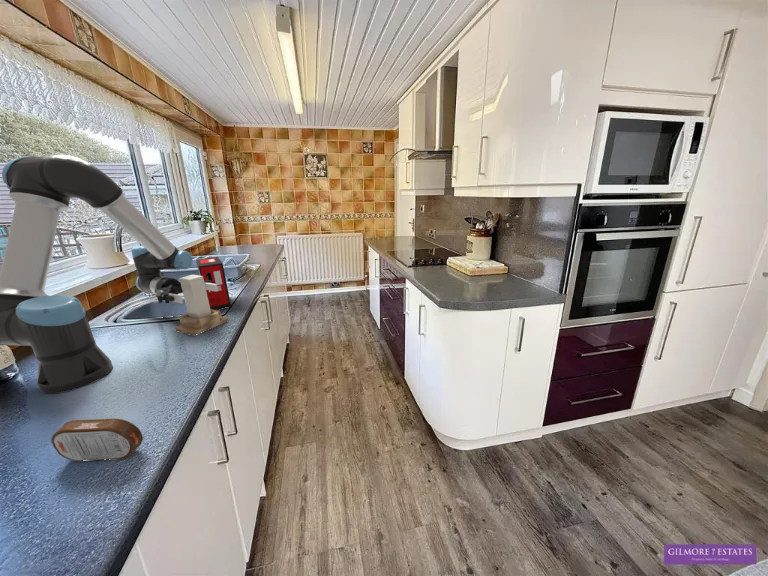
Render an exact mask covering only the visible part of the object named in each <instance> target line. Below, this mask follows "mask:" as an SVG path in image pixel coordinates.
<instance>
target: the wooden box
mask: <svg viewBox="0 0 768 576" xmlns="http://www.w3.org/2000/svg"><path fill="white" fill-rule="evenodd" d="M210 310H211V314H210V315H208V316H205V317H203V318H200V319H198V320H197V319H194V318H190V317H189V315H188V312H187V313H185V314H182V315H180V316H179V321H180V324H179V325H177V326H175V327H174V329H175V330H174V331H176V332H177V331H179V332H178V333H181V332H183V333H182V334H184V333H186V334H185V335H188V334H190V335H189V336H191V335H196V334H199V333H201V332H203V331H205V330H208V329H210V328H212V329H214V328H213V327H215V326H217V325H219V324H221V325H223V324H222V323H224V322H226V323H228V322H229V317H227V316H222V314H221V311H220V310H213V309H210ZM227 321H228V322H227ZM224 324H225V323H224ZM219 326H220V325H219ZM217 327H218V326H217ZM215 328H216V327H215ZM210 330H211V329H210ZM208 331H209V330H208ZM205 332H206V331H205ZM203 333H204V332H203ZM201 334H202V333H201ZM199 335H200V334H199ZM196 336H197V335H196Z"/></svg>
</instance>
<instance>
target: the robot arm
mask: <svg viewBox="0 0 768 576" xmlns="http://www.w3.org/2000/svg"><path fill="white" fill-rule="evenodd" d="M1 177H2V181H3V183H4V184H5V185H6V188H7V189H8V190H9V193H8V197H9V198H10V199H11V200H12V201H13V202H14V203H15V206H14V209H13V210H14V211H13V215H12V220H11V224H10V228H9V232H8V237H7V240H6V247H5V250H4V254H3V259H2V263H1V267H0V346H3V347H4V346H22V347H23V346H29V347H31V349H32V350H33V353H34V355H35V358H36V360H37V363H38V365H37V378H36V384H37V387H38V389H39V391H40V393H42V394H45V395H47V394H48V395H50V394H51V395H52V394H60V393H66V392H69V391H73V390H78V389H80V388H83V387H86V386H88V385H91V384H93V383H95V382H96V381H98V380H100V379H102V378H104V377H105V376H107V375H108V374H109V373H110V372H111V371H112V370H113V367H114V366H113V363H112V361H111V358H109V356H108V355H107V354H106V353H105V352H104V351H103V350H102V349H101V348H100V347H99V346H98V345H97V343H96V340H95V337H94V334H93V331H92V328H91V326H90V322H89V320H88V317H87V315H86V314H87V313H86V310H85V308H84V306H83V304H82V302H81V300H79V299H78V297H75V296H72V295H67V294H53V295H48V294H47V293H46V292H45V290H46V289H45V288H46V283H47V278H48V275H49V269H50V263H51V258H52V253H53V248H54V244H55V239H56V234H57V229H58V222H59V217H60V213H62V212H64V211H68V210H69V205H70V201H71V199H73V198H76V199H80V200H82V201H83V202H85V203H86V204H88V205H89V206H90V207H92V208H94V209H99V210H101V211H102V212H103V213H104V214H105V215H106V216H107V217H109V218H110V219H111V220H112V221H113V222H114V223H116V225H118V226H119V227H120V228H121V229H122V230H123V231H125V232H126V233H127V234H128V235H129V236H131V238H133V239H134V240H135V241H136V242H138V244H140V245H137V246H134V247H132V248H131V249H130V251H131V256H132V260H133V263H134V266H135V269H136V272H137V278H136V280H135V286H136V288H137V289H138V290H139V291H141V292H144V293H146V294H154V296H155V297H156V298H157V301H158V304H160V303H161V304H162V303H163V302H165V304H169V303H170V302H172V303H177V304H183V303H184V302H183V301H184V300H183V297H182V295H181V294H183V291H182V287H181V283H180V280H178V279H176V278H172V277H167V276H162V272H161V271H163V270H164V271H165V270H166V271H168V270H169V271H171V270H173V271H180V270H181V271H182V270H188V269H190V268H191V267H192V265H193V261H194V260H193V256H192V254H191V253H190V252H189V251H187V250H183V249H181V250H179V249H178V247H176V246H175V245H174V244H173V242H171V241H170V240H169V239H168V238H167V237H166V236H165V235H164V234H163V233H162V232H161V231H160V230H159V229H158V228H157V227H156V226H155V225H154V224H153V223H152V222H151V221H150V220H149V219H148V218H147V217H146V216H145V215H144V214H143V213H142V212H141V211H140V210H139V209H138V208H137V207H136V206H135V205H134V204H133V203H132V202H131V201H130V200H129V199H128V198H127V197H126V196H125V195H124V191H123V189H122V188H121V187H120V186H119V185H118V184H117V183H116V182H115V181H114V180H113V179H112V178H111V177H110V176H108V175H107V174H106V173H104V172H103V171H102V170H100V169H99V168H98V167H96V166H94V165H93V164H91V163H89V162H88V161H85V160H83V159H82V158H79V157H76V156H73V155H68V154H55V155H42V156H37V155H27V156H26V155H25V156H22V157H17V158H14V159H11V160H9V161H8V162H7V163H6V164H5V165H4V166H3V169H2V171H1ZM204 283H205V288H206V290H211V291H216V292H217V291H218V287H217V284H212V282H211V281H210V280H209V281H208V280H206V281H204Z"/></svg>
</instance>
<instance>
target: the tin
mask: <svg viewBox="0 0 768 576" xmlns="http://www.w3.org/2000/svg"><path fill="white" fill-rule="evenodd" d="M143 437H144V436H143V433H142V431H141V430H140V428H139V427H138V426H136V425H135V424H134V423H132V422H130V421H129V420H126V419H122V418H113V417H112V418H94V419H93V418H90V419H89V418H88V419H72V420H69V421H67V422H65V423H64V424H63V425H62V426H61V427H60V428H59V429H58V430H57V431H56V432H54V434H53V435H52V437H51V439H50V442H51V445H52V447H53V448H54V450H55V451H56V452H57V453H58V455H59V456H60V457H62V458H64V459H66V460H69V461H73V462H79V461H83V460H104V459H106V460H105V461H110V460H109V459H121V460H125V459H127V458H129V457H130V456H132V455H133V454H134V452H135V451H136V450H137V449H138V448H139V447H140V446H141V445H142V443H143V439H144V438H143ZM83 462H84V461H83Z"/></svg>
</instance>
